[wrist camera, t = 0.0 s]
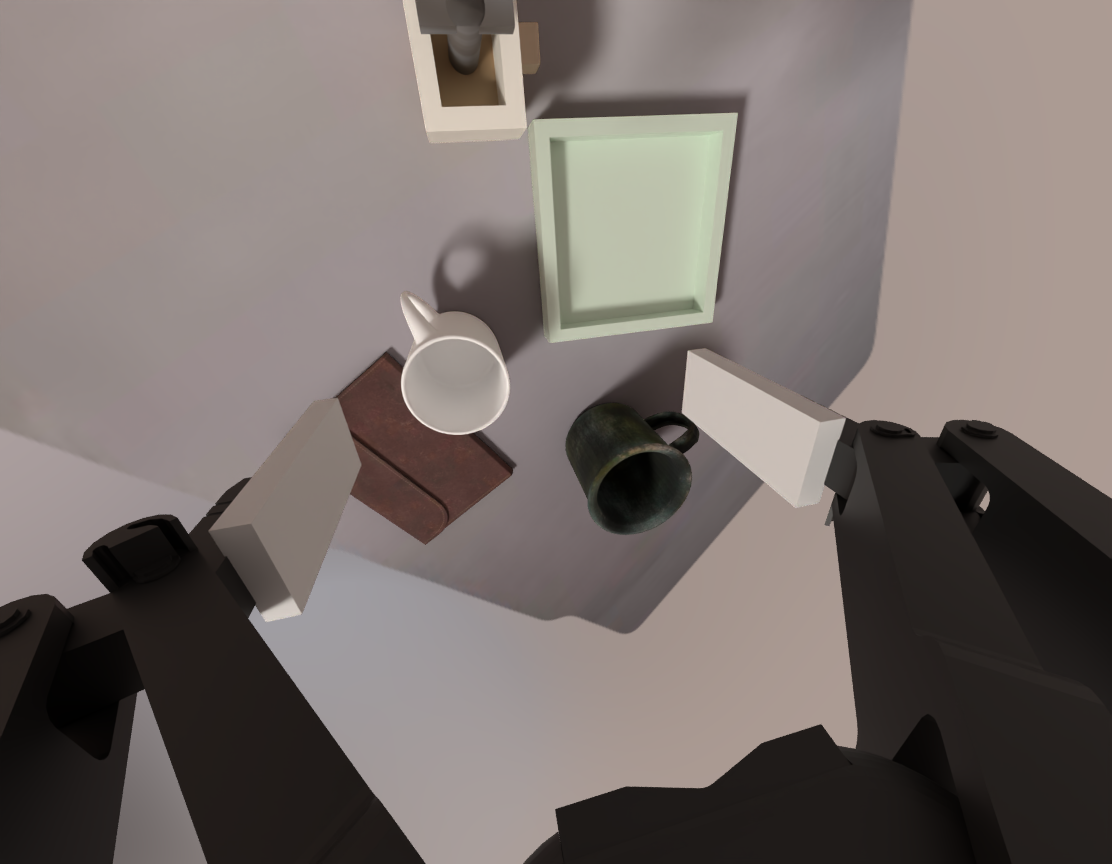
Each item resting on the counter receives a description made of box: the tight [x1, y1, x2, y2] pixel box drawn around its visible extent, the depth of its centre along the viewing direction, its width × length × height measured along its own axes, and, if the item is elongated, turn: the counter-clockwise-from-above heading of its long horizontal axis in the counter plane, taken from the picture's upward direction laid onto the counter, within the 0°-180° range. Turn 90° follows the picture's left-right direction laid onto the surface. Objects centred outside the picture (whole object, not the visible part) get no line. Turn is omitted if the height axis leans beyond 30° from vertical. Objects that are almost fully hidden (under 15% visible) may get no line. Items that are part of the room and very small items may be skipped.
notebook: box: [336, 352, 513, 545], centre depth 45 cm, size 15×20×2 cm
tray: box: [528, 113, 738, 343], centre depth 38 cm, size 18×18×3 cm
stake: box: [415, 0, 515, 107], centre depth 26 cm, size 6×6×13 cm
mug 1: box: [401, 291, 510, 435], centre depth 36 cm, size 9×12×11 cm
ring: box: [403, 0, 540, 143], centre depth 25 cm, size 9×8×4 cm
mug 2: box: [566, 403, 699, 535], centre depth 45 cm, size 11×15×12 cm
